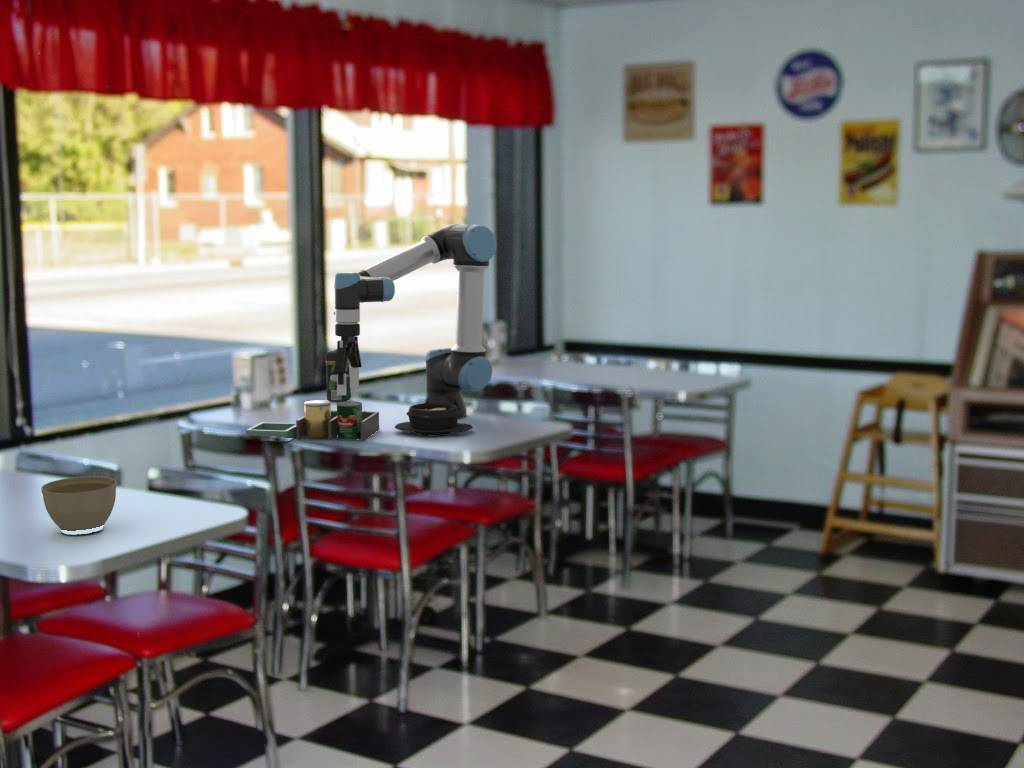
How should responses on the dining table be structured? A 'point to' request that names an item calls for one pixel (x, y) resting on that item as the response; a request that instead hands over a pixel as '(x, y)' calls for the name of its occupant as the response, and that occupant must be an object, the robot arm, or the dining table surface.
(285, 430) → the tray
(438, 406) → the casserole
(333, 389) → the coffee jar
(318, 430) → the ochre can
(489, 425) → the dining table surface
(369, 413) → the clip rack
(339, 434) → the canned tomato
